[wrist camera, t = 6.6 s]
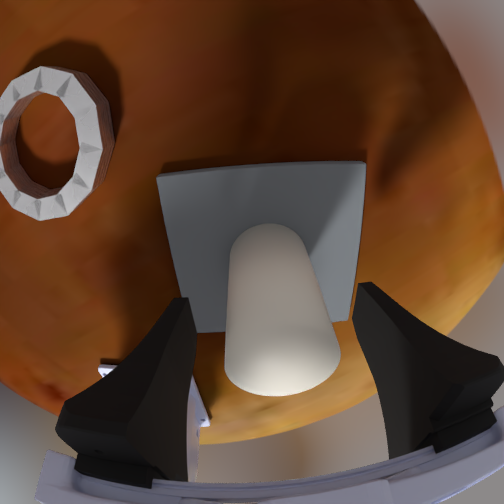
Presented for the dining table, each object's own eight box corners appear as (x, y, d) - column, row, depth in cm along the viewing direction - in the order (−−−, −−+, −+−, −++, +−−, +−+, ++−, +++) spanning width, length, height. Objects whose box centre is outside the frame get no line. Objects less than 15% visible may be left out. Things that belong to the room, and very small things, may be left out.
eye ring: (125, 197, 14) (115, 208, 13) (20, 216, 14) (7, 227, 13) (104, 48, 10) (90, 45, 9) (-5, 96, 10) (-21, 100, 9)
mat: (345, 314, 19) (347, 320, 18) (192, 326, 19) (191, 333, 18) (361, 160, 14) (366, 163, 13) (159, 174, 14) (156, 177, 13)
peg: (306, 284, 17) (335, 388, 11) (235, 292, 17) (234, 400, 11) (305, 219, 15) (345, 316, 9) (224, 228, 15) (214, 332, 9)
